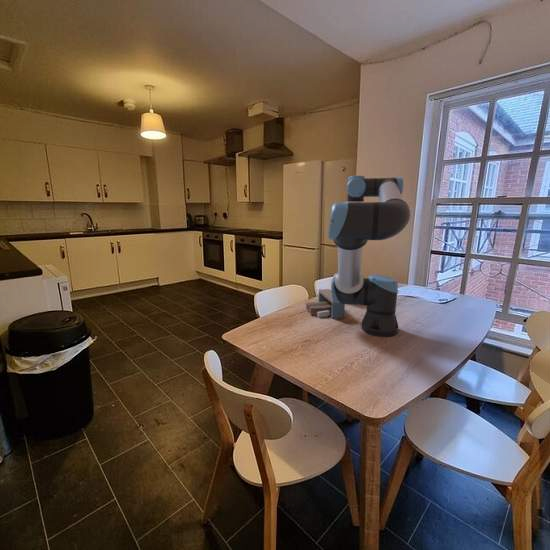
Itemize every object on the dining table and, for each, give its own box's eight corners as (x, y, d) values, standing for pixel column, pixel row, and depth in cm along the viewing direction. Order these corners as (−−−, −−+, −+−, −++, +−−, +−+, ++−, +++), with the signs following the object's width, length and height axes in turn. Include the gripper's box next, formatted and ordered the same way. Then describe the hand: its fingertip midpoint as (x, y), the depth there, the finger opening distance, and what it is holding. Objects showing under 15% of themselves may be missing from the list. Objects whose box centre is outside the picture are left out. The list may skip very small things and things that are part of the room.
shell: (334, 314, 145) (334, 306, 145) (310, 315, 144) (311, 308, 143) (328, 308, 154) (328, 301, 153) (305, 309, 152) (306, 302, 151)
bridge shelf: (343, 317, 140) (344, 300, 138) (319, 319, 138) (320, 301, 136) (328, 304, 160) (329, 289, 158) (307, 305, 157) (307, 290, 155)
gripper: (364, 210, 140) (360, 259, 146) (338, 210, 138) (336, 260, 143) (371, 211, 133) (368, 261, 139) (345, 211, 131) (342, 262, 136)
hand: (351, 260), depth 141 cm, fingers closed
